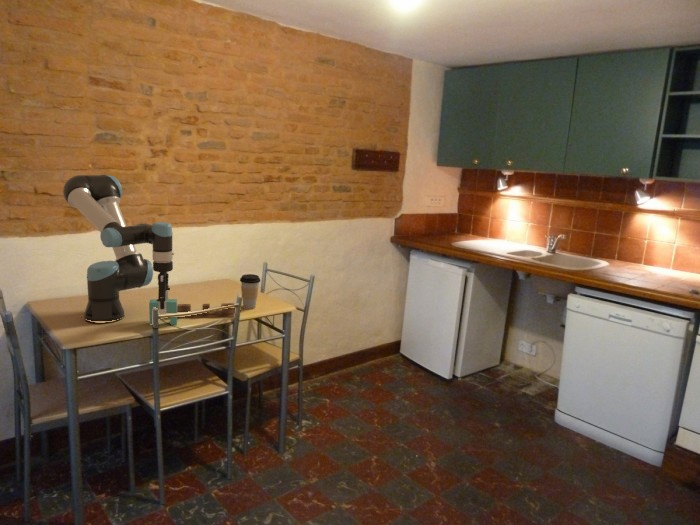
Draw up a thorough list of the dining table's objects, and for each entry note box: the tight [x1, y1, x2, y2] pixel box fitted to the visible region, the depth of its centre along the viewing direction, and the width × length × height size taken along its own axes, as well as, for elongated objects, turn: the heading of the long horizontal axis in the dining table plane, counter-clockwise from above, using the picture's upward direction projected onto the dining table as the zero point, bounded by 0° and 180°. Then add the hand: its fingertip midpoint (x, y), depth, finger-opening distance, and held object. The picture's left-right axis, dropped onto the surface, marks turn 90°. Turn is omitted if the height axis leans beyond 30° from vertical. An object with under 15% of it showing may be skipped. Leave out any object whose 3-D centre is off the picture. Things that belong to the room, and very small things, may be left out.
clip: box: [148, 298, 178, 326], centre depth 211 cm, size 10×4×10 cm, turn 106°
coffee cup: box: [239, 273, 261, 310], centre depth 239 cm, size 9×9×15 cm
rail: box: [177, 302, 235, 319], centre depth 225 cm, size 24×6×5 cm, turn 106°
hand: (163, 310), depth 211 cm, fingers open, 13 cm apart
